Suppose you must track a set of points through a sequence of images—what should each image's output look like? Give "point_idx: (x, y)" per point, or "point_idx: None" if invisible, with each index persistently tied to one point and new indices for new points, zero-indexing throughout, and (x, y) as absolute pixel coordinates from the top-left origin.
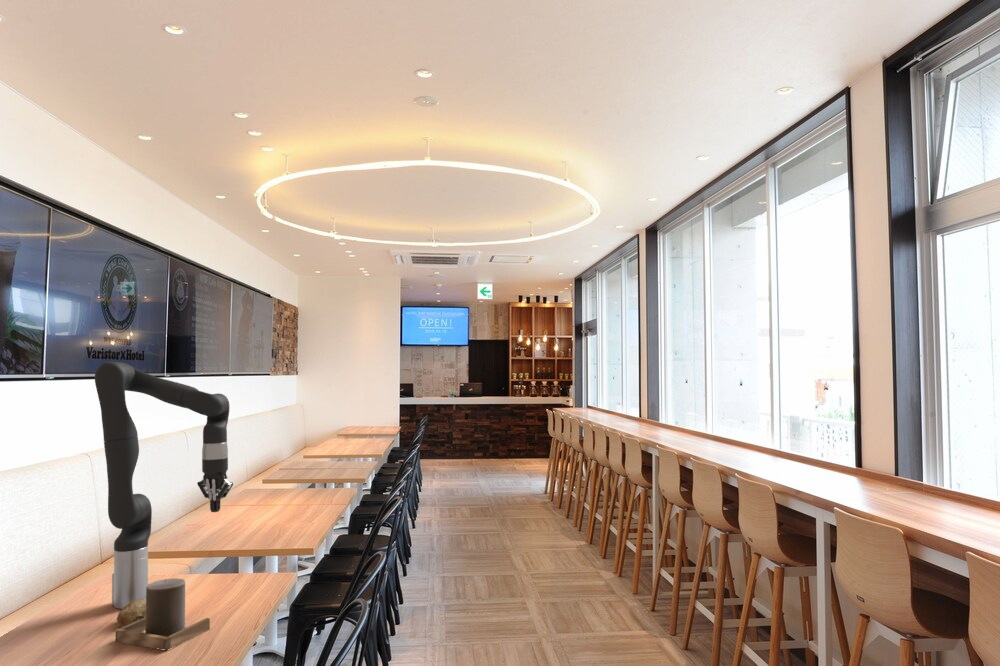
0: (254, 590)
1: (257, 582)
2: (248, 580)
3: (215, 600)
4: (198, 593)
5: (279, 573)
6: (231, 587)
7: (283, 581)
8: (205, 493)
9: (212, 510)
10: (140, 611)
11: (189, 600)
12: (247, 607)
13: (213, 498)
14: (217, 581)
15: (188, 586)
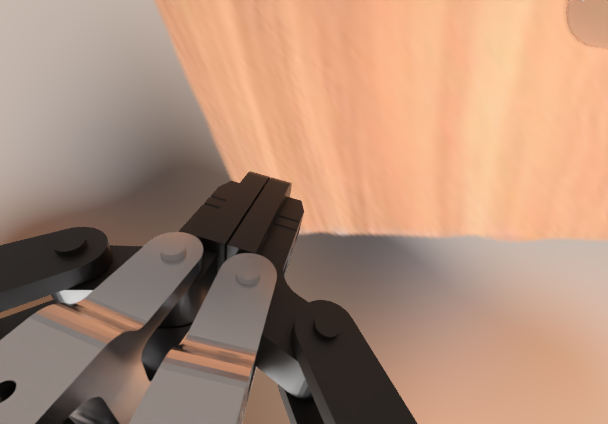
0: (271, 132)
1: (295, 181)
2: (323, 193)
3: (332, 51)
4: (410, 104)
5: None
6: (340, 150)
7: None
8: (330, 374)
9: (268, 182)
10: None
11: (413, 44)
12: (211, 3)
13: (178, 251)
14: (397, 189)
15: (464, 156)
